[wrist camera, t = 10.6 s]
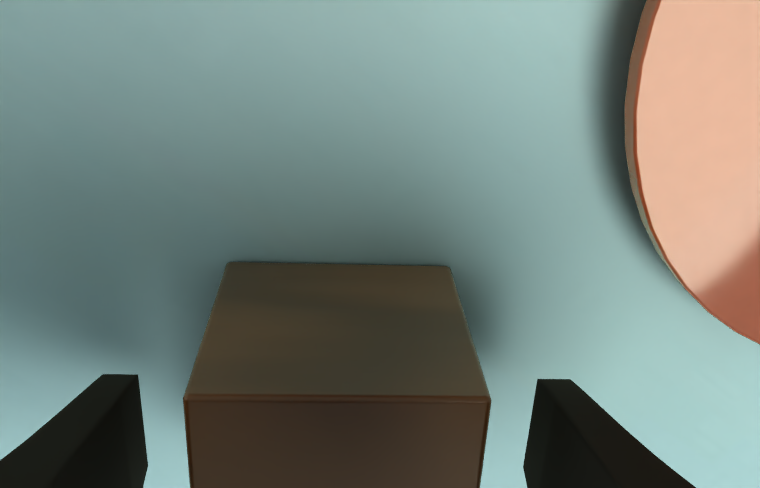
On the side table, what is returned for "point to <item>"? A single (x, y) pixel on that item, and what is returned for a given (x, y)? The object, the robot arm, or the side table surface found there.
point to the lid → (700, 149)
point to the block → (336, 381)
